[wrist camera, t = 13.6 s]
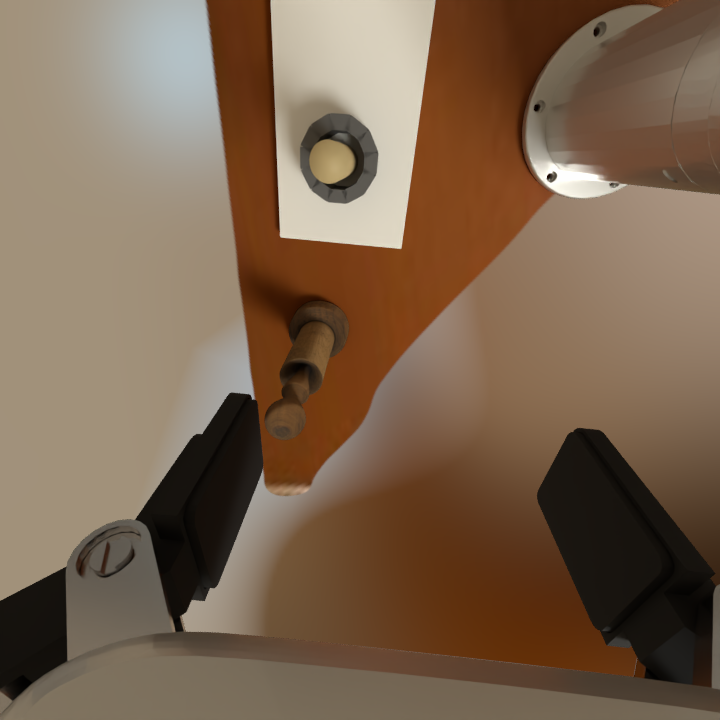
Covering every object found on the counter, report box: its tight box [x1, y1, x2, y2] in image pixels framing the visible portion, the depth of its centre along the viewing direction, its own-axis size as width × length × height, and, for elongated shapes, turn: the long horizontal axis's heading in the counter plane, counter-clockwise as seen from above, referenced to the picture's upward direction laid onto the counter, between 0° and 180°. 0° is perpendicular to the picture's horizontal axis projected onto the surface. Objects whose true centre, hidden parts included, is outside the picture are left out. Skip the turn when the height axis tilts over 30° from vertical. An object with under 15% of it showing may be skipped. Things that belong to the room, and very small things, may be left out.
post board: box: [271, 0, 436, 249], centre depth 24 cm, size 12×24×12 cm, turn 175°
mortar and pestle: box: [265, 301, 349, 440], centre depth 32 cm, size 7×6×18 cm
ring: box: [300, 113, 379, 204], centre depth 28 cm, size 6×6×4 cm
